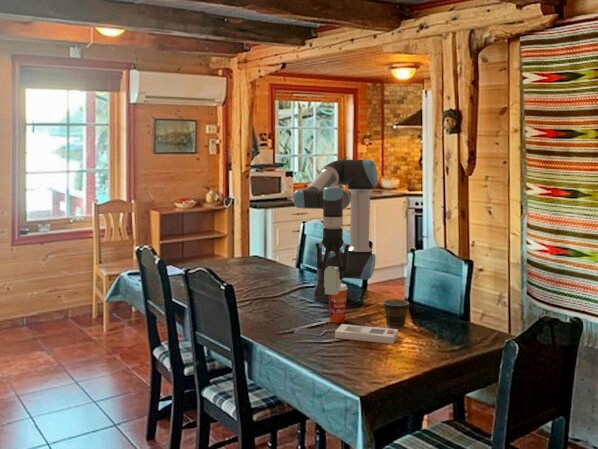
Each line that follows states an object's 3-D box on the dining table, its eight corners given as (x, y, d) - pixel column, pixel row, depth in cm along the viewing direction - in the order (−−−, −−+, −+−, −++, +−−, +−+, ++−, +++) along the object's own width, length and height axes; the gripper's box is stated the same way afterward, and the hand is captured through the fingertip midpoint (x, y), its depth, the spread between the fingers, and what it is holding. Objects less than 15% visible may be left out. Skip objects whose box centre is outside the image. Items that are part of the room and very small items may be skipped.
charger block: (328, 291, 247) (328, 265, 246) (339, 292, 245) (339, 266, 244) (324, 294, 243) (325, 267, 241) (336, 294, 241) (336, 268, 240)
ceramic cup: (400, 322, 256) (400, 298, 255) (413, 329, 247) (414, 304, 245) (371, 325, 251) (372, 301, 250) (384, 332, 242) (384, 307, 241)
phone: (299, 330, 248) (299, 327, 248) (325, 333, 244) (325, 330, 244) (293, 334, 242) (293, 331, 242) (320, 337, 238) (320, 334, 238)
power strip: (341, 330, 245) (341, 322, 245) (398, 335, 238) (398, 327, 238) (334, 337, 236) (334, 329, 236) (393, 343, 229) (393, 335, 229)
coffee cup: (330, 324, 253) (330, 287, 251) (325, 318, 261) (325, 283, 259) (350, 323, 255) (350, 286, 253) (344, 317, 263) (345, 282, 261)
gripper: (307, 227, 240) (307, 287, 243) (352, 229, 234) (351, 291, 237) (314, 225, 247) (314, 283, 250) (357, 227, 241) (356, 286, 244)
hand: (332, 287), depth 244 cm, fingers closed on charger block, 4 cm apart
